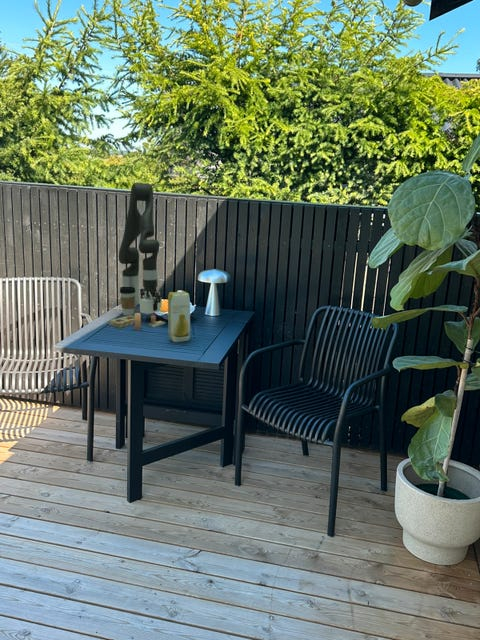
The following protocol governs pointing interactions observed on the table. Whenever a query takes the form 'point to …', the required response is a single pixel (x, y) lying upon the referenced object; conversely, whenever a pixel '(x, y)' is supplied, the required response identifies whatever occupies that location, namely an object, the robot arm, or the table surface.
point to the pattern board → (153, 321)
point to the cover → (148, 305)
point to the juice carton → (179, 316)
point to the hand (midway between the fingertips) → (150, 309)
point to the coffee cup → (127, 300)
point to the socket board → (123, 321)
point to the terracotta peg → (137, 321)
